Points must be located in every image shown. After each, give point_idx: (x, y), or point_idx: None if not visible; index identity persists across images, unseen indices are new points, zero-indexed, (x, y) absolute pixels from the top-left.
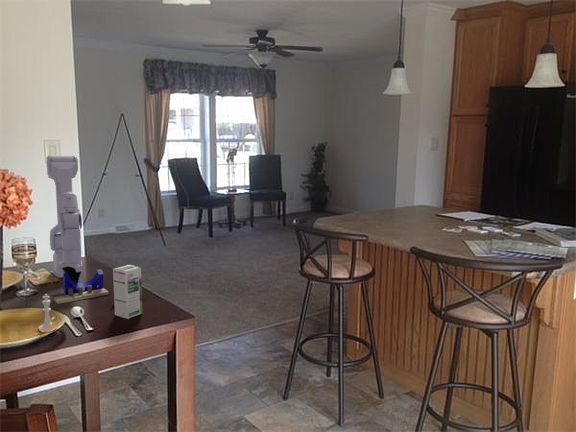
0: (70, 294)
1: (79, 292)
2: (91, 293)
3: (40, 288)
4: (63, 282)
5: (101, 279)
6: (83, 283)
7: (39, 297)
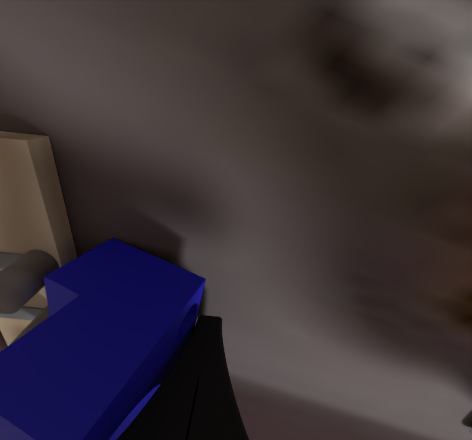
0: (14, 262)
1: (36, 317)
2: None
3: (461, 173)
4: (149, 325)
5: None
6: None
7: (203, 58)
